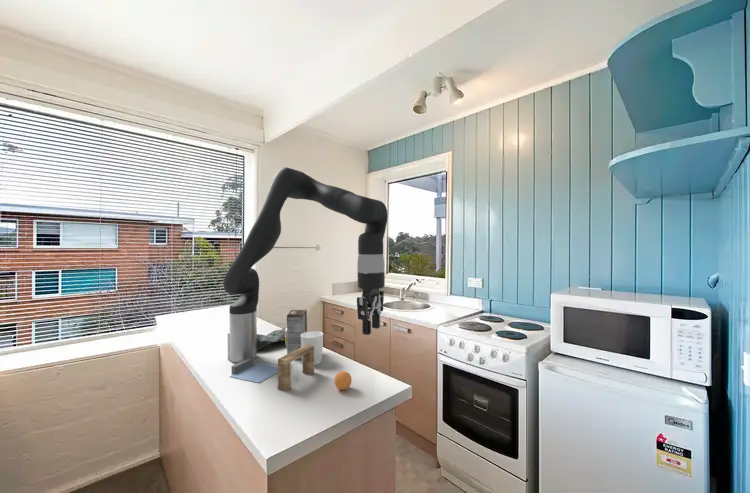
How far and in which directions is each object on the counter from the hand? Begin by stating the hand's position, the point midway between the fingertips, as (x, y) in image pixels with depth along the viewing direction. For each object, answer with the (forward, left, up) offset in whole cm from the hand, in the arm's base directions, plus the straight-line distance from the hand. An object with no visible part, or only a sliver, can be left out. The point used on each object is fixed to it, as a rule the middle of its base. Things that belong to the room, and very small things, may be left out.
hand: (371, 330), depth 84 cm
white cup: (-29, +14, -18) cm, 37 cm away
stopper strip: (-47, 0, -18) cm, 50 cm away
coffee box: (-39, +19, -18) cm, 47 cm away
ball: (-9, 0, -15) cm, 18 cm away
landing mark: (-41, 0, -18) cm, 44 cm away
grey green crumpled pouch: (-55, +27, -18) cm, 64 cm away
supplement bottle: (-47, +26, -18) cm, 57 cm away
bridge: (-25, 0, -18) cm, 31 cm away
